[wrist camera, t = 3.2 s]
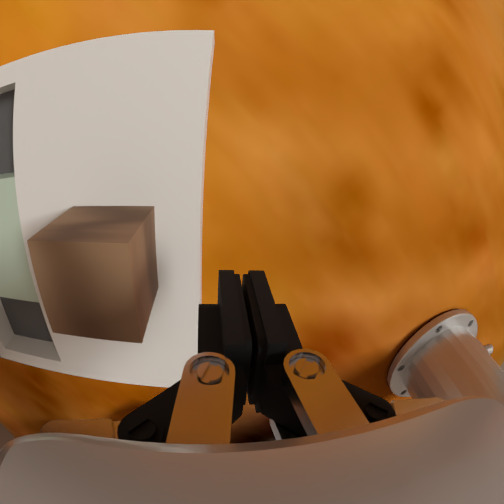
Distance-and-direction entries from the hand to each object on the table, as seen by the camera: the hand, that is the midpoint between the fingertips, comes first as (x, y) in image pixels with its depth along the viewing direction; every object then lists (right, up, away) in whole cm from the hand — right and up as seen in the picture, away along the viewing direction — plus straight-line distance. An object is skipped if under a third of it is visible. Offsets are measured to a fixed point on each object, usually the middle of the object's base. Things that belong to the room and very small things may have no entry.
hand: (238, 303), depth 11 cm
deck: (-14, +3, +6) cm, 15 cm away
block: (-7, +2, +4) cm, 9 cm away
